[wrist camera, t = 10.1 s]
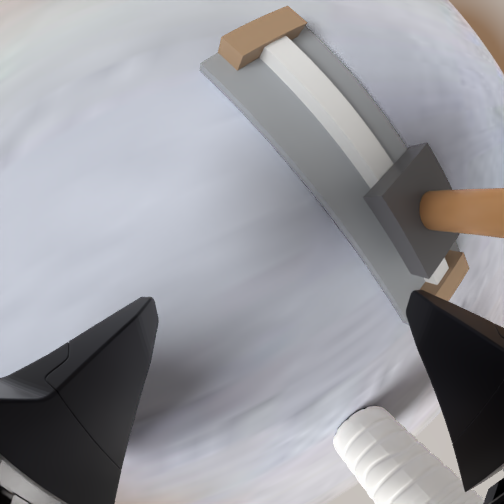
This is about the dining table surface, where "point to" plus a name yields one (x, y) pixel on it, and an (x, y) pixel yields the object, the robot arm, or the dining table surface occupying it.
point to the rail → (324, 137)
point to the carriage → (430, 210)
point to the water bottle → (396, 462)
